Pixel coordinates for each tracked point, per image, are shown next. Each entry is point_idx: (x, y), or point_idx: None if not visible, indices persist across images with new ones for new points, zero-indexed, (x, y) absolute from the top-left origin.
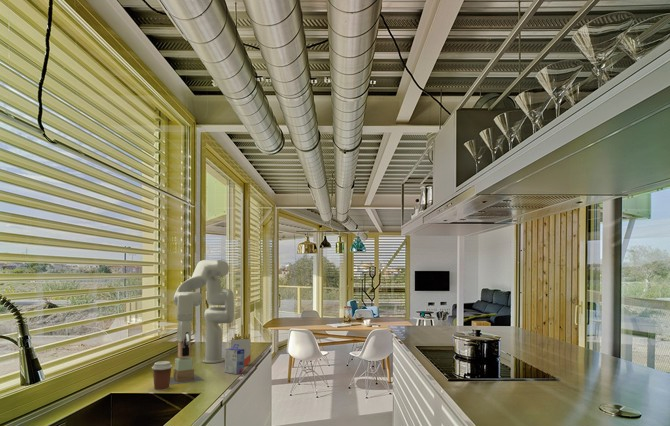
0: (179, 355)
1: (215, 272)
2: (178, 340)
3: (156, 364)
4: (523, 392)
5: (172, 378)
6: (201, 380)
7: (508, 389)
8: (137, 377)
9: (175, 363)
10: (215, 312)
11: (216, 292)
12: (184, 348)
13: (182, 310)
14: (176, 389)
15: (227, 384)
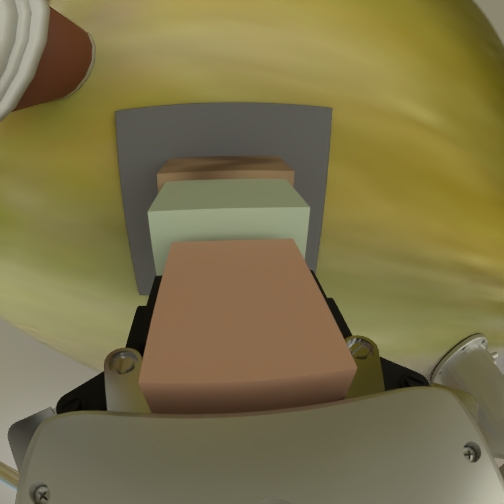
0: (208, 252)
1: None
2: (300, 410)
3: None
4: (7, 475)
5: (294, 154)
6: (141, 283)
7: (15, 478)
8: (448, 33)
9: (279, 191)
10: None
11: None
12: (132, 353)
13: None
14: (27, 137)
15: (53, 341)
